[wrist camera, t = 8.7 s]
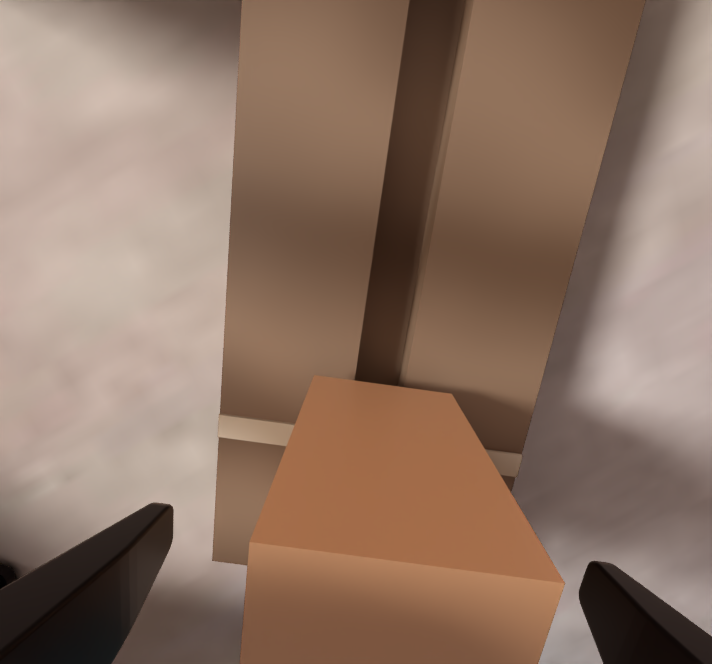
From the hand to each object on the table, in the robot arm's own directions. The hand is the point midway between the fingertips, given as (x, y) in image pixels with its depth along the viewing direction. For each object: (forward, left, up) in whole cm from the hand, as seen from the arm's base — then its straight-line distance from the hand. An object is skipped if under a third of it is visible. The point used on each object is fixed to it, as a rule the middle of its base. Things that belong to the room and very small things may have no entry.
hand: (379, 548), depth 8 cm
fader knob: (0, 0, -6) cm, 6 cm away
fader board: (+6, 0, -7) cm, 9 cm away
